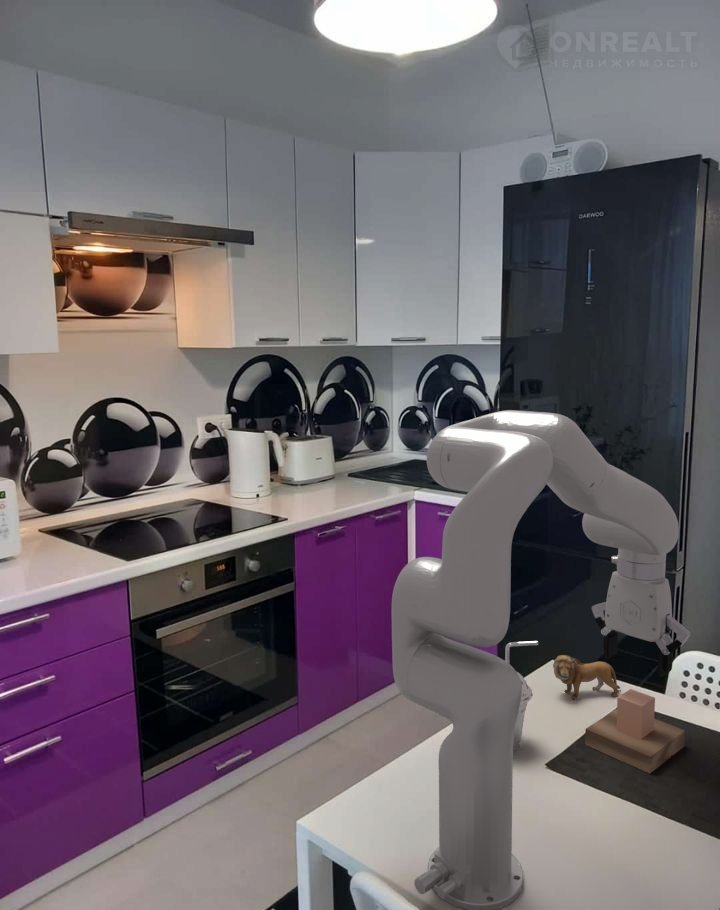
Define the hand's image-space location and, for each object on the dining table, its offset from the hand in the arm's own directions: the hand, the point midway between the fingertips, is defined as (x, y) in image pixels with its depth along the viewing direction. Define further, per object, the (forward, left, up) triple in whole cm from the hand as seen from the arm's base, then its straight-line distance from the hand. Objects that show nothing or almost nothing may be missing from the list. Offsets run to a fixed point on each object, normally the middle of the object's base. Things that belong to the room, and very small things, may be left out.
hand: (636, 665), depth 127 cm
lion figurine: (+10, +16, -15) cm, 24 cm away
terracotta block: (0, 0, -12) cm, 12 cm away
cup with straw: (-16, +15, -15) cm, 26 cm away
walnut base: (0, 0, -15) cm, 15 cm away
